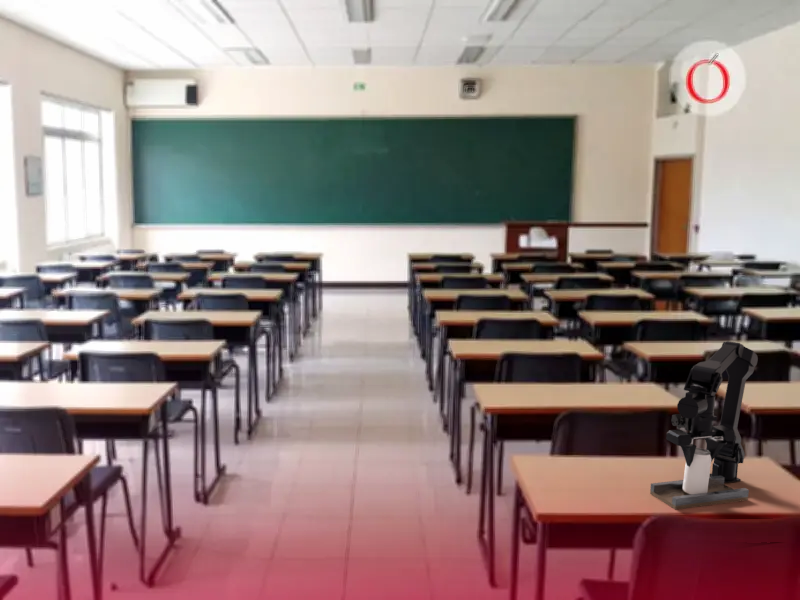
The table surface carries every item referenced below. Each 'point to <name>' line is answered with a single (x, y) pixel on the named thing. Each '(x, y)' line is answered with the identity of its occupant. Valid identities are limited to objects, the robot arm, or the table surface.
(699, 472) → the can
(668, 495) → the track
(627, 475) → the table surface
